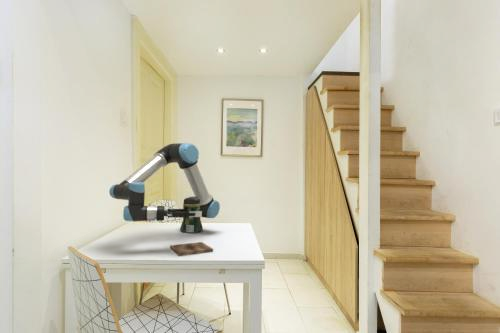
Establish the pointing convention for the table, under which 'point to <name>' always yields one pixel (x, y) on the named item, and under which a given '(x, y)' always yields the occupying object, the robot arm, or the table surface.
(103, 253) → the table surface
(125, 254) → the table surface
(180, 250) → the walnut board
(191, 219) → the coffee jar
